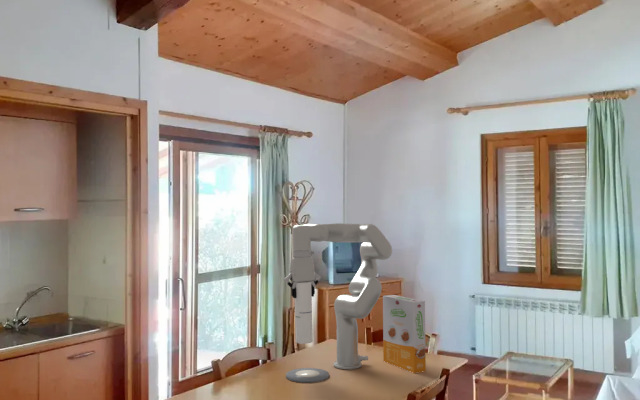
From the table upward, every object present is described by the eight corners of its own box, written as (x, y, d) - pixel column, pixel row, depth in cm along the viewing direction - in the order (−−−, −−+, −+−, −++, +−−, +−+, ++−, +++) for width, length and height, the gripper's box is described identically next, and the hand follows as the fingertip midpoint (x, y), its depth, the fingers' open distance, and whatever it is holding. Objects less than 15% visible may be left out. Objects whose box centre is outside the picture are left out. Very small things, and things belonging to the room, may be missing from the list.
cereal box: (425, 371, 238) (424, 301, 238) (414, 373, 235) (413, 302, 235) (394, 359, 257) (393, 294, 258) (383, 361, 254) (382, 295, 255)
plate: (319, 368, 243) (319, 365, 243) (335, 379, 226) (335, 376, 226) (280, 373, 236) (280, 370, 236) (294, 384, 220) (294, 381, 220)
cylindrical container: (310, 343, 227) (309, 283, 228) (293, 343, 229) (292, 282, 229) (314, 339, 234) (312, 280, 235) (298, 339, 236) (296, 280, 236)
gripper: (318, 252, 239) (319, 294, 238) (279, 255, 232) (280, 297, 232) (324, 254, 232) (325, 296, 231) (285, 256, 225) (286, 300, 225)
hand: (303, 296), depth 232 cm, fingers closed on cylindrical container, 7 cm apart
